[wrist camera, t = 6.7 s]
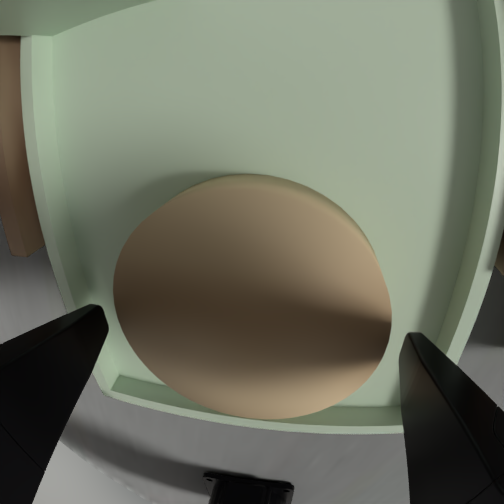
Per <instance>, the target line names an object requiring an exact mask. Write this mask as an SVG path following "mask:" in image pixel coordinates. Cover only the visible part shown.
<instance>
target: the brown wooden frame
mask: <svg viewBox="0 0 504 504" xmlns="http://www.w3.org/2000/svg"><path fill="white" fill-rule="evenodd" d="M20 47H21V36H16V35H0V215H1V219H2V223H3V227H4V231H5V234H6V238H7V242H8V245H9V248H10V252H11V255H12V256H21V257H28V256H30V255H31V254H32V253H34V252H35V251H37V250H38V249H40V248H41V247H42V246H44V245H45V241H44V237H43V233H42V229H41V225H40V221H39V217H38V212H37V208H36V203H35V198H34V194H33V188H32V183H31V177H30V172H29V165H28V159H27V152H26V144H25V136H24V126H23V116H22V102H21V79H20ZM494 266H495V267H496V268H497V269H498V270H499V271H500V273H501V274H502V275H503V276H504V230H503V234H502V238H501V242H500V246H499V250H498V254H497V257H496V261H495V264H494Z"/></svg>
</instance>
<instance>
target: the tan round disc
mask: <svg viewBox="0 0 504 504" xmlns="http://www.w3.org/2000/svg"><path fill="white" fill-rule="evenodd" d="M113 297H114V306H115V310H116V314H117V318H118V321H119V324H120V326H121V329H122V331H123V333H124V335H125V337H126V339H127V341H128V343H129V345H130V346H131V348H132V349H133V351H134V352H135V354H136V355H137V356H138V358H139V359H140V360H141V361H142V362H143V364H144V365H145V366H146V367H147V368H148V369H149V370H150V371H151V372H152V373H153V374H154V375H155V376H156V377H157V378H158V379H160V380H161V381H162V382H163V383H165V384H166V385H167V386H168V387H170V388H171V389H173V390H174V391H176V392H177V393H179V394H180V395H182V396H184V397H186V398H188V399H189V400H191V401H193V402H195V403H198V404H200V405H202V406H204V407H207V408H210V409H212V410H215V411H218V412H222V413H225V414H229V415H233V416H239V417H245V418H253V419H285V418H293V417H299V416H304V415H308V414H311V413H315V412H318V411H321V410H323V409H326V408H328V407H330V406H333V405H335V404H336V403H338V402H340V401H342V400H344V399H345V398H347V397H348V396H349V395H351V394H352V393H354V392H355V391H356V390H358V389H359V388H360V387H361V386H362V385H363V384H364V383H365V382H366V381H367V380H368V379H369V377H370V376H371V375H372V374H373V372H374V371H375V370H376V368H377V367H378V365H379V363H380V361H381V360H382V358H383V356H384V353H385V351H386V348H387V345H388V343H389V338H390V333H391V327H392V309H391V303H390V296H389V292H388V289H387V286H386V283H385V280H384V277H383V274H382V272H381V269H380V266H379V263H378V260H377V257H376V255H375V252H374V249H373V248H372V246H371V244H370V242H369V240H368V238H367V237H366V235H365V233H364V232H363V231H362V230H361V228H360V227H359V226H358V224H357V223H356V222H355V220H354V219H353V218H351V217H350V216H349V215H348V214H347V213H346V212H345V211H344V210H343V209H342V208H341V207H340V206H338V205H337V204H336V203H334V202H333V201H332V200H330V199H329V198H327V197H326V196H324V195H323V194H321V193H319V192H317V191H315V190H313V189H311V188H309V187H307V186H305V185H302V184H299V183H297V182H294V181H291V180H288V179H284V178H279V177H274V176H270V175H259V174H236V175H226V176H222V177H217V178H212V179H209V180H206V181H203V182H201V183H198V184H195V185H193V186H191V187H190V188H188V189H186V190H184V191H182V192H180V193H179V194H177V195H176V196H175V197H173V198H172V199H171V200H169V201H168V202H167V203H165V204H164V205H162V206H161V207H160V208H158V209H157V210H156V211H154V212H153V213H152V214H151V215H150V216H148V217H147V218H146V219H145V220H143V221H142V222H141V223H140V224H139V225H138V226H137V228H136V229H135V230H134V231H133V232H132V233H131V234H130V236H129V238H128V239H127V241H126V243H125V244H124V246H123V248H122V250H121V252H120V255H119V257H118V260H117V263H116V267H115V272H114V279H113Z"/></svg>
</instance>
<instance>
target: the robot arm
mask: <svg viewBox="0 0 504 504" xmlns="http://www.w3.org/2000/svg"><path fill="white" fill-rule="evenodd" d="M108 332H109V325H108V322H107V319H106V316H105V313H104V310H103V308H102V306H100V305H96V304H88V305H86V306H84V307H81V308H79V309H77V310H75V311H72V312H70V313H68V314H66V315H63V316H61V317H59V318H57V319H55V320H52V321H50V322H48V323H46V324H44V325H41V326H39V327H37V328H35V329H32V330H30V331H28V332H26V333H24V334H22V335H19V336H17V337H15V338H13V339H11V340H8V341H6V342H4V343H3V344H0V504H32V502H33V500H34V497H35V495H36V492H37V490H38V487H39V485H40V482H41V480H42V478H43V475H44V473H45V470H46V468H47V465H48V463H49V461H50V458H51V456H52V454H53V452H54V449H55V447H56V445H57V442H58V441H59V438H60V436H61V434H62V432H63V430H64V428H65V426H66V423H67V421H68V419H69V417H70V415H71V413H72V411H73V409H74V407H75V405H76V403H77V401H78V399H79V397H80V395H81V393H82V391H83V389H84V387H85V385H86V383H87V381H88V379H89V377H90V375H91V373H92V371H93V369H94V367H95V364H96V362H97V359H98V357H99V354H100V352H101V349H102V347H103V345H104V342H105V340H106V337H107V335H108ZM399 379H400V404H401V416H402V423H403V430H404V438H405V447H406V456H407V467H408V479H409V493H410V504H504V411H503V410H502V409H501V408H500V407H497V404H496V403H495V402H494V401H493V400H492V399H491V398H490V397H489V396H488V395H487V394H486V393H485V392H484V391H483V390H482V389H481V388H480V387H479V386H478V385H476V384H475V383H474V382H473V381H472V380H471V379H470V378H469V377H468V376H467V375H466V374H465V373H464V372H463V371H462V370H461V369H460V368H459V367H458V366H457V365H456V364H455V363H454V362H453V361H452V360H451V359H449V358H448V357H447V356H446V355H445V354H444V353H443V352H442V351H441V350H440V349H439V348H438V347H437V346H436V345H435V344H433V343H432V342H431V341H430V340H429V339H428V338H427V337H426V336H425V335H424V334H423V333H421V332H408V333H407V334H406V336H405V338H404V341H403V345H402V348H401V351H400V354H399ZM203 481H204V483H205V485H206V488H207V490H208V493H209V495H210V500H209V504H291V501H292V497H293V492H294V486H293V485H291V484H282V483H272V482H263V481H255V480H248V479H241V478H235V477H229V476H223V475H217V474H212V473H204V476H203Z"/></svg>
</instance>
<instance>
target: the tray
mask: <svg viewBox="0 0 504 504" xmlns="http://www.w3.org/2000/svg"><path fill="white" fill-rule="evenodd" d="M0 35H16V36H21V47H20V79H21V102H22V116H23V126H24V136H25V144H26V152H27V159H28V165H29V172H30V177H31V183H32V188H33V194H34V198H35V203H36V208H37V212H38V217H39V221H40V225H41V229H42V233H43V237H44V241H45V245H46V248H47V252H48V255H49V259H50V262H51V266H52V269H53V272H54V275H55V278H56V281H57V284H58V287H59V290H60V293H61V296H62V299H63V302H64V305H65V307H66V310H67V313H70V312H72V311H75V310H77V309H79V308H81V307H84V306H86V305H88V304H96V305H100V306H102V308H103V310H104V313H105V316H106V319H107V322H108V325H109V332H108V335H107V337H106V340H105V342H104V345H103V347H102V349H101V352H100V354H99V357H98V359H97V362H96V364H95V367H94V369H93V371H92V372H93V374H94V376H95V378H96V381H97V383H98V385H99V387H100V389H101V391H102V393H103V395H105V396H108V397H111V398H114V399H118V400H121V401H125V402H128V403H132V404H136V405H139V406H143V407H147V408H151V409H155V410H159V411H163V412H168V413H172V414H176V415H181V416H186V417H191V418H196V419H201V420H207V421H212V422H218V423H224V424H231V425H237V426H245V427H252V428H260V429H270V430H280V431H291V432H305V433H324V434H390V433H404V430H403V423H402V416H401V404H400V379H399V354H400V351H401V348H402V345H403V341H404V338H405V336H406V334H407V333H408V332H421V333H423V334H424V335H425V336H426V337H427V338H428V339H429V340H430V341H431V342H432V343H433V344H435V345H436V346H437V347H438V348H439V349H440V350H441V351H442V352H443V353H444V354H445V355H446V356H447V357H448V358H449V359H451V360H452V361H453V362H454V363H455V364H456V365H457V363H458V361H459V358H460V356H461V354H462V352H463V350H464V347H465V345H466V343H467V340H468V338H469V336H470V333H471V331H472V328H473V326H474V323H475V321H476V318H477V315H478V313H479V310H480V307H481V305H482V302H483V299H484V296H485V293H486V290H487V287H488V284H489V281H490V278H491V274H492V271H493V268H494V264H495V261H496V257H497V254H498V250H499V246H500V242H501V238H502V234H503V230H504V0H0ZM236 174H259V175H270V176H274V177H279V178H284V179H288V180H291V181H294V182H297V183H299V184H302V185H305V186H307V187H309V188H311V189H313V190H315V191H317V192H319V193H321V194H323V195H324V196H326V197H327V198H329V199H330V200H332V201H333V202H334V203H336V204H337V205H338V206H340V207H341V208H342V209H343V210H344V211H345V212H346V213H347V214H348V215H349V216H350V217H351V218H353V219H354V220H355V222H356V223H357V224H358V226H359V227H360V228H361V230H362V231H363V232H364V233H365V235H366V237H367V238H368V240H369V242H370V244H371V246H372V248H373V249H374V252H375V255H376V257H377V260H378V263H379V266H380V269H381V272H382V274H383V277H384V280H385V283H386V286H387V289H388V292H389V296H390V303H391V309H392V327H391V333H390V338H389V343H388V345H387V348H386V351H385V353H384V356H383V358H382V360H381V361H380V363H379V365H378V367H377V368H376V370H375V371H374V372H373V374H372V375H371V376H370V377H369V379H368V380H367V381H366V382H365V383H364V384H363V385H362V386H361V387H360V388H359V389H358V390H356V391H355V392H354V393H352V394H351V395H349V396H348V397H347V398H345V399H344V400H342V401H340V402H338V403H336V404H335V405H333V406H330V407H328V408H326V409H323V410H321V411H318V412H315V413H311V414H308V415H304V416H299V417H293V418H285V419H253V418H245V417H239V416H233V415H229V414H225V413H222V412H218V411H215V410H212V409H210V408H207V407H204V406H202V405H200V404H198V403H195V402H193V401H191V400H189V399H188V398H186V397H184V396H182V395H180V394H179V393H177V392H176V391H174V390H173V389H171V388H170V387H168V386H167V385H166V384H165V383H163V382H162V381H161V380H160V379H158V378H157V377H156V376H155V375H154V374H153V373H152V372H151V371H150V370H149V369H148V368H147V367H146V366H145V365H144V364H143V362H142V361H141V360H140V359H139V358H138V356H137V355H136V354H135V352H134V351H133V349H132V348H131V346H130V345H129V343H128V341H127V339H126V337H125V335H124V333H123V331H122V329H121V326H120V324H119V321H118V318H117V314H116V310H115V306H114V297H113V279H114V272H115V267H116V263H117V260H118V257H119V255H120V252H121V250H122V248H123V246H124V244H125V243H126V241H127V239H128V238H129V236H130V234H131V233H132V232H133V231H134V230H135V229H136V228H137V226H138V225H139V224H140V223H141V222H142V221H143V220H145V219H146V218H147V217H148V216H150V215H151V214H152V213H153V212H154V211H156V210H157V209H158V208H160V207H161V206H162V205H164V204H165V203H167V202H168V201H169V200H171V199H172V198H173V197H175V196H176V195H177V194H179V193H180V192H182V191H184V190H186V189H188V188H190V187H191V186H193V185H195V184H198V183H201V182H203V181H206V180H209V179H212V178H217V177H222V176H226V175H236Z"/></svg>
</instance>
